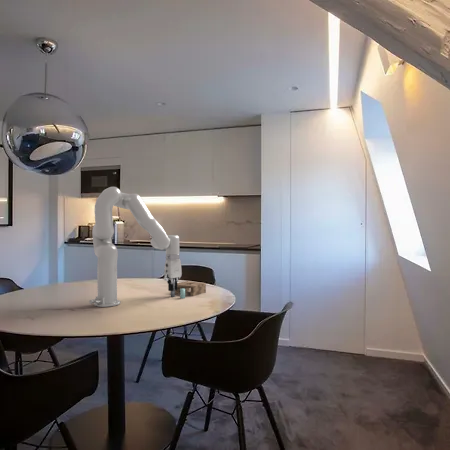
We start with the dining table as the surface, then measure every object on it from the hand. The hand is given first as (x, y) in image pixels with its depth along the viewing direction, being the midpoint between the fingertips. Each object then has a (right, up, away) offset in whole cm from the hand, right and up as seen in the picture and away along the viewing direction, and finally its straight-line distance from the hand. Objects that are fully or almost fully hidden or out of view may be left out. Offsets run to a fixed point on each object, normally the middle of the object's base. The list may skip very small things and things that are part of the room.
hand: (172, 290), depth 201 cm
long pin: (0, -4, 0) cm, 4 cm away
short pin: (+6, -4, -4) cm, 8 cm away
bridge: (+9, -3, +10) cm, 14 cm away
